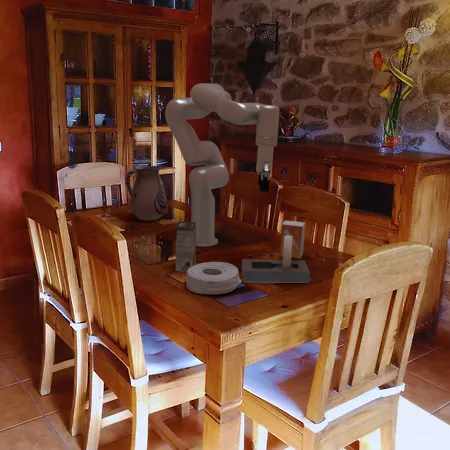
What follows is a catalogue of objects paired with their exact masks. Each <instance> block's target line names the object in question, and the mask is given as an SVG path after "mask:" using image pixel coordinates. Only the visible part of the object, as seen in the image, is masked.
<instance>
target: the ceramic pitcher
mask: <svg viewBox="0 0 450 450" xmlns="http://www.w3.org/2000/svg"><path fill="white" fill-rule="evenodd" d="M160 169H161V168H160V166H158V165H152V166H149V165H147V164H146V165H137V166H134V167H133V168H132V169H130V170H129V171H127V174H126V176H125V184H126V188H127V191H128V194H129V195H130V197H129V209H130V212H131V213H132V215H133V216H134V217H135V218H136V219H137V220H139V221H143V222H150V221H157V220H159V219H160V218H161V217H162V216H163V215H164V214H165V212H166V211H167V207H168V205H167V204H168V199H167V195H166V190H165V187H164V183H163V180H162V179H161V176H160ZM134 174H136V177H135V179H134V182H133V186H131V185H132V184H131V178H132V175H134Z"/></svg>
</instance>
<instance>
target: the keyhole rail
mask: <svg viewBox="0 0 450 450" xmlns="http://www.w3.org/2000/svg"><path fill="white" fill-rule="evenodd" d="M282 265H283V259H259V258H258V259H257V258H256V259H253V258H252V259H251V258H242V260H241V274H242V283H243V284H275V283H309V284H310V281H311V280H310V278H311V271H310V270H309V267H308V265H307V263H306V261H305V260H300V259H299V260H298V259H293V260H292V259H291V268H282Z"/></svg>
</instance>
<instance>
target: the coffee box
mask: <svg viewBox="0 0 450 450" xmlns="http://www.w3.org/2000/svg"><path fill="white" fill-rule="evenodd" d="M195 231H196V222H191V221H187V220H185V221H184V220H183V221H181V220H180V221H178V222H177V224H176V227H175V272H176V271H180V272H179V273H186V274H187V271H188V269H189V268H190V267H192V266H194V265H196V246H195Z"/></svg>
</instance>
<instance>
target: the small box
mask: <svg viewBox="0 0 450 450" xmlns="http://www.w3.org/2000/svg"><path fill="white" fill-rule="evenodd" d="M305 229H306V221H305V222H301V221H293V220H284V221H283V223H281V231H280V232H281V233H280V248H279V249H280V250H279V256H280V257H283V247H284V236H286V235H289V236H292V252H291V259H292V258H293V259H297V260H298V259H299V260H300V259H301V258H302V257H303V254H304V245H305V243H304V242H305V231H306V230H305Z"/></svg>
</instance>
